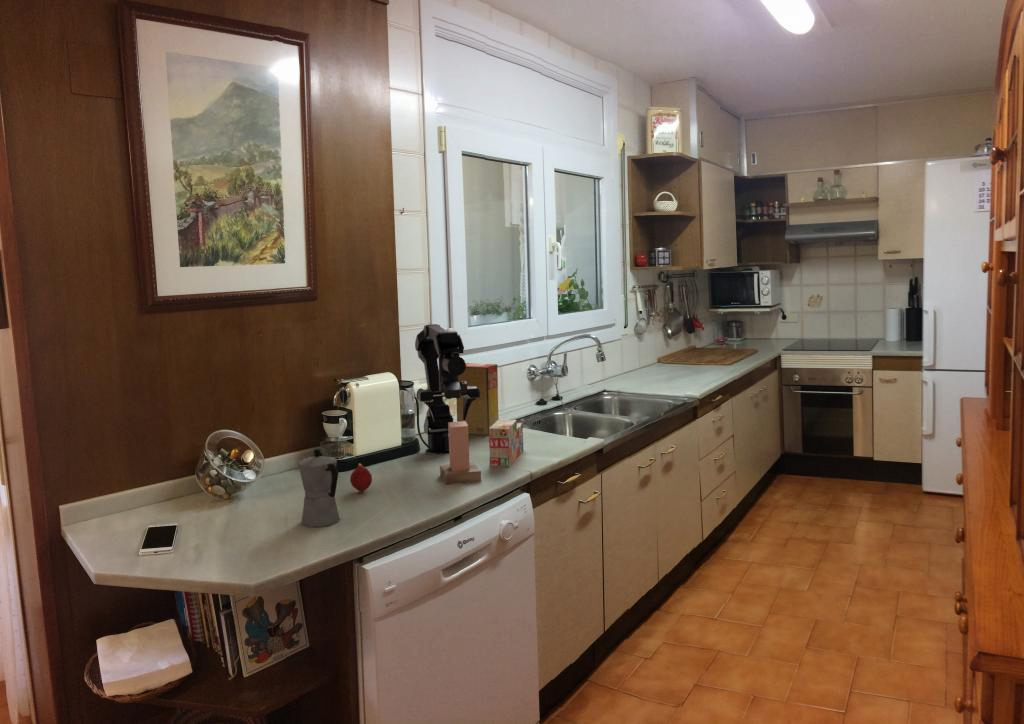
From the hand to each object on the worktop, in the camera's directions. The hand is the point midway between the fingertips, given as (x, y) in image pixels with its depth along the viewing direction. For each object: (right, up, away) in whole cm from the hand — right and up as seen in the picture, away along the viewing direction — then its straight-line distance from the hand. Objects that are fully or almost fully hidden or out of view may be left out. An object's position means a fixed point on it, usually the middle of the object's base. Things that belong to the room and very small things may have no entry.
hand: (449, 421), depth 235 cm
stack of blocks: (+18, -12, +5) cm, 22 cm away
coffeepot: (-26, -21, -52) cm, 62 cm away
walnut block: (+4, -16, -17) cm, 23 cm away
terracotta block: (+4, -12, -17) cm, 21 cm away
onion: (-22, -18, -28) cm, 39 cm away
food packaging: (+7, -8, +43) cm, 44 cm away
